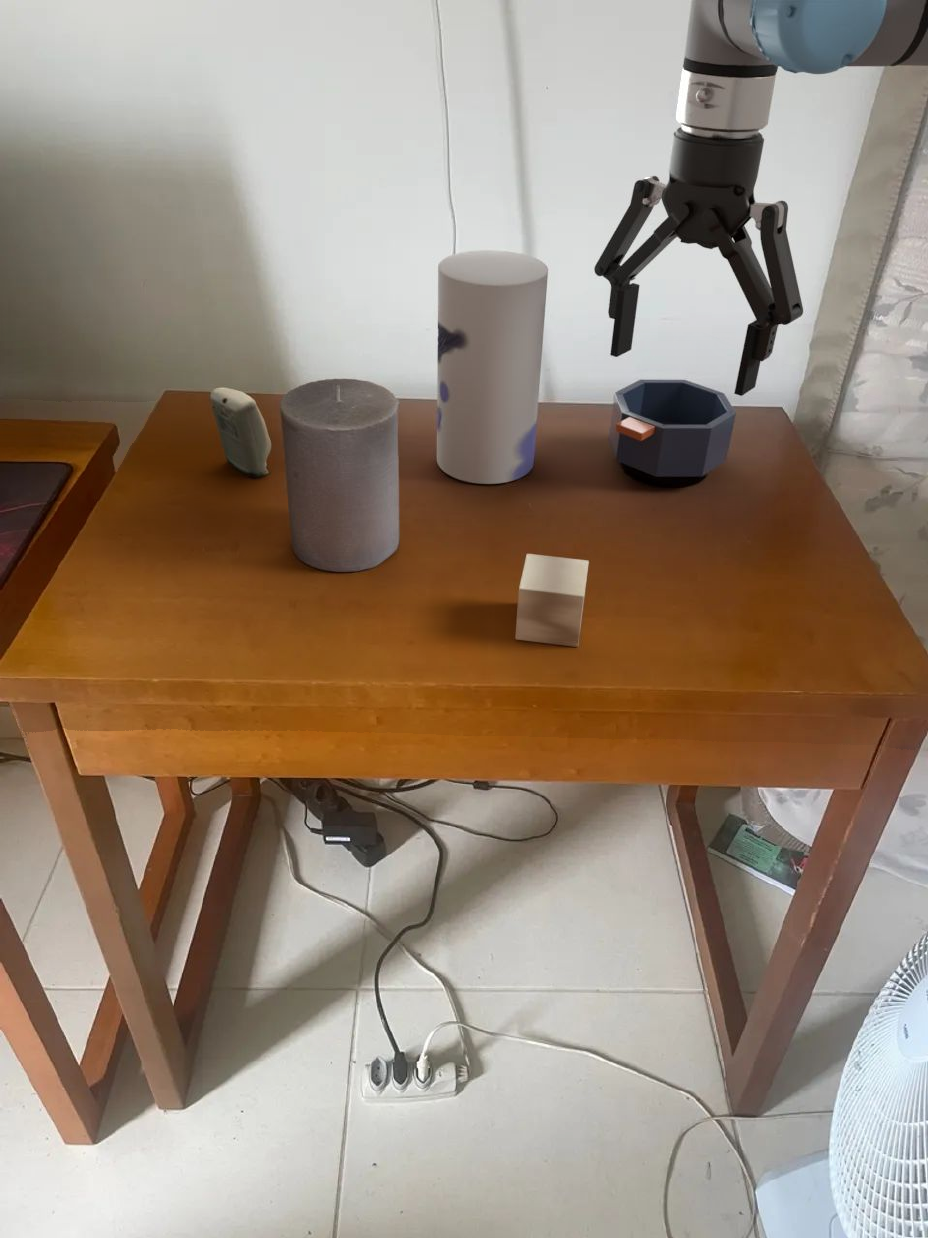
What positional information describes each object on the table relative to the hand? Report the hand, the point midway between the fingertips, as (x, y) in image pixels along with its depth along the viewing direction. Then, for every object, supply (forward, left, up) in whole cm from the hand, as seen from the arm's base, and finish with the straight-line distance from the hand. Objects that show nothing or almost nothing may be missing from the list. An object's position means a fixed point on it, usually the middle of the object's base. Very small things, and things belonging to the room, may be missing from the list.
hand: (680, 371), depth 95 cm
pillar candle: (+8, +34, -11) cm, 36 cm away
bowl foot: (0, 0, -11) cm, 11 cm away
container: (+12, +14, -11) cm, 21 cm away
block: (-12, +28, -11) cm, 32 cm away
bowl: (0, +1, -9) cm, 9 cm away
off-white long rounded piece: (+26, +34, -11) cm, 44 cm away
